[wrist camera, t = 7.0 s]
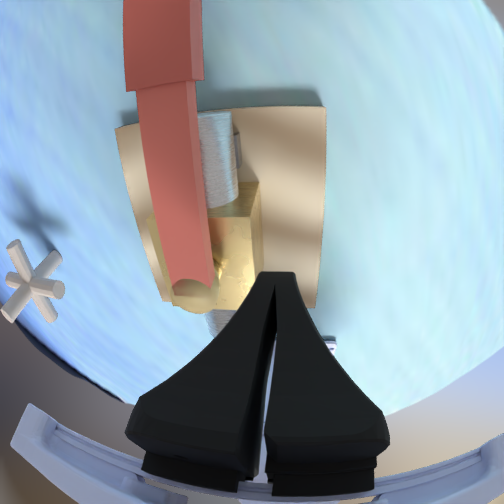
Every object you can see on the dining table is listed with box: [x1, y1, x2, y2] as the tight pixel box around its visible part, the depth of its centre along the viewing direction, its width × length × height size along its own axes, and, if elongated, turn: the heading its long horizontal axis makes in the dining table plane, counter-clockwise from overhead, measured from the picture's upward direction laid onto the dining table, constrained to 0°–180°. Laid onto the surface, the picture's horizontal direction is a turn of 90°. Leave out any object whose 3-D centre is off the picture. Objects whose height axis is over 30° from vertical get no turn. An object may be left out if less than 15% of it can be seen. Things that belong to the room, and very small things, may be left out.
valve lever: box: [123, 0, 220, 314], centre depth 10 cm, size 15×3×1 cm, turn 2°
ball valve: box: [146, 111, 264, 338], centre depth 17 cm, size 16×6×7 cm, turn 4°
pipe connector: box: [1, 239, 65, 323], centre depth 21 cm, size 10×10×10 cm
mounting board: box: [115, 106, 326, 308], centre depth 20 cm, size 16×14×1 cm
